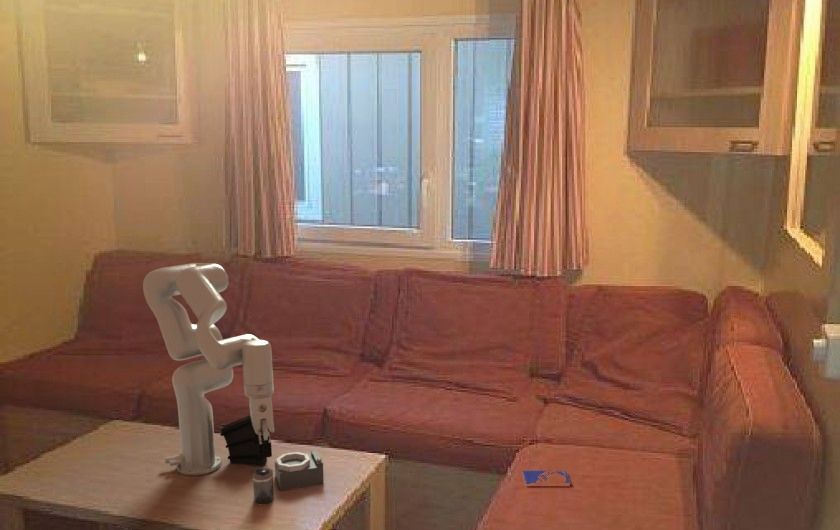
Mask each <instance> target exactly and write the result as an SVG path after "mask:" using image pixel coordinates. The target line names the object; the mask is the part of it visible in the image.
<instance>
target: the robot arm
mask: <svg viewBox="0 0 840 530" xmlns="http://www.w3.org/2000/svg"><path fill="white" fill-rule="evenodd" d="M142 286H143V287H142V291H143V295H144V298H145V301H146V303H147V305H148V307H149V308H150V309H151V311H152V313H153V314H154V317H155V318H156V321H157V323H158V326H159V327H158V328H159V330H160V333H161V335H162V338H163V341H164V345H165V347H166V350H167V353H168V355H169V356H170V358H171V359H172V360H174V361H185V360H189V359H193V358H197V357H201V356H203V357H204V359H199V360H195V361H191V362H188V363H185V364H182V365H181V366H179V367H178V368H176V369H175V370H174V371H173V373H172V378H171V381H172V386H173V389H174V394H175V399H176V404H177V411H178V414H177V415H178V426H179V441H180V450H179V453H178V454H176V455H174V456H173V455H172V456H171V455H170V456H165V457H164V460H165V461H164V462H165V465H167V464H169V466H176V471H177V473H179V474H181V475H185V476H202V475H206V474H207V475H208V474H209V473H213V472H214V471H216V470H218V468H220V467H221V465H222V459H221V457H220V456H219V455H216V446H215V445H216V442H215V432H214V431H215V430H214V414H213V412H214V411H213V407H212V404H211V403H210V401H209V400H208V399H207V398H206V397H205V394H206V393H210V392H212V391H216V390H218V389H221V388H222V389H223V388H225V387H227V386H229V385H230V384H231V383H232V381H233V379H234V370H233V368H234V367H236V366H240V365H242V374H243V376H242V377H243V378H242V379H243V390H244V391H243V392H244V396H245V397H247V398H249V399H248V400H249V413H250V414H249V415H251V422H252V426H253V428H254V430H253V435H254V444H258V448H259V458H267V459H268V458H271V457H272V456H273V453H272V452H273V451H272V449H273V448H272V441H271V435H270V433H274V432H275V424H274V421H275V420H274V413H273V403H272V395H273V394H274V393H275V389H274V372H273V371H274V370H273V369H274V368H273V354H272V353H273V352H272V344H271V343H270V342H269V341H268V340H266V339H265V340H264V339H259V338H258V337H257V336H255V335H253V334H251V333H250V334H249V333H246V334H241V335H237V336H232V337H228V338H224V339H223V336H222V333H221V331H220V330H219V328H218V327H217V326H216V325H215V323H217V322H218V321H219V320H221V318H222V317H223V316H224V315H225V313H226V311H227V309H228V306H227V302H226V300H225V299H224V298H223V297H222V295H221V294H220V293H222V292H224V291H225V290H226V289H228V287H229V276H228V273H227V272H226V270H225V268H223V266H221V265H220V264H218V263H206V262H193V263H185V264H179V265H173V266H166V267H160V268H157V269H154V270H151V271H150V272H148V273H147V274H146V275H145V277H144V279H143V285H142ZM180 295H181V296H182V298H183V299H184V301H185V302H186V304H187V305H188V306H189V308H190V309H191V310H192V312H193V314H194V315H195V316H196V318H197V323H194V324H193V323H192V322H191V320H190V318H189V317H190V316H189V315H188V311H187V310H186V308H185V306H183V305H182V304H181V302H179V301H178V300H176V299H175V298H173V296H180Z"/></svg>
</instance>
